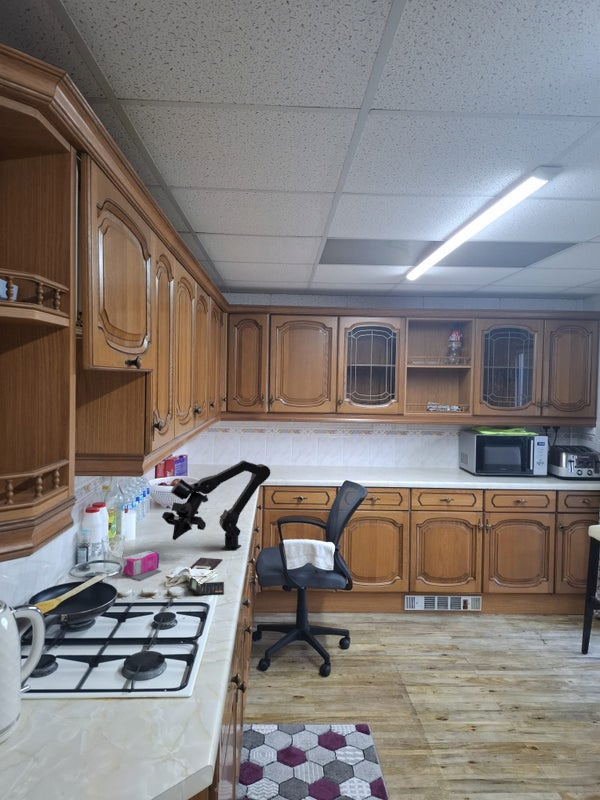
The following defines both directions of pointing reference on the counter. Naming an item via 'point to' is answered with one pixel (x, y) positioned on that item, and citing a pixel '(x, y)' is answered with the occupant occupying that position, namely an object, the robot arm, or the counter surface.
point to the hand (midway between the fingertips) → (173, 539)
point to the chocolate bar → (206, 563)
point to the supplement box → (140, 563)
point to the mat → (143, 575)
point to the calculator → (206, 588)
